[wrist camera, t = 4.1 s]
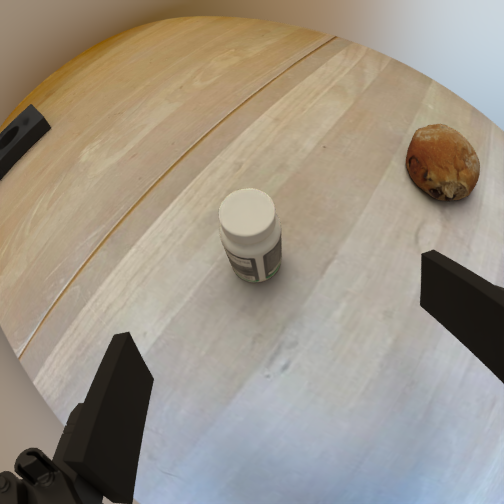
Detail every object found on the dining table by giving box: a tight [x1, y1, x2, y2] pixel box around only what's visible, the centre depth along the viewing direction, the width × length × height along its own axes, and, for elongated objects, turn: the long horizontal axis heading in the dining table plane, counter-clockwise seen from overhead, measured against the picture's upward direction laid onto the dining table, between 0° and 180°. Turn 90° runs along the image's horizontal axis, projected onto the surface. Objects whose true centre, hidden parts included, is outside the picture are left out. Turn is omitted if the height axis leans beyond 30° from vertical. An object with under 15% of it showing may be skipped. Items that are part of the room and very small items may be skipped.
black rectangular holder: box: [0, 104, 51, 179], centre depth 41 cm, size 16×12×3 cm
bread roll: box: [406, 124, 480, 201], centre depth 29 cm, size 10×10×8 cm
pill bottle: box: [218, 188, 282, 282], centre depth 24 cm, size 5×5×8 cm
